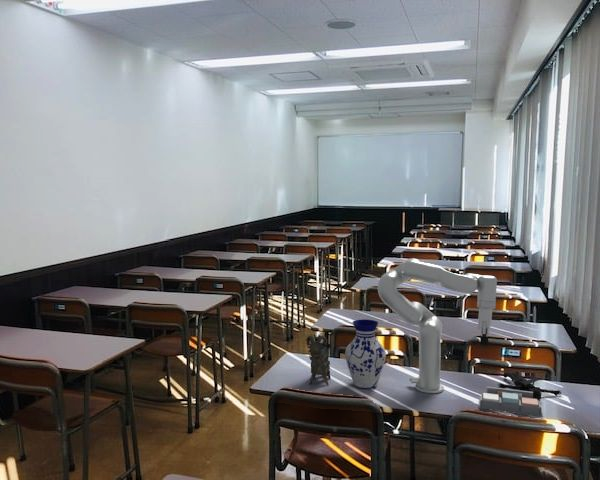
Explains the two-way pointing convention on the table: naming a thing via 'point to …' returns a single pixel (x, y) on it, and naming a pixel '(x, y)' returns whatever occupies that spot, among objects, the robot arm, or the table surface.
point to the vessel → (319, 357)
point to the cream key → (491, 397)
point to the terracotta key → (529, 401)
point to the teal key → (509, 398)
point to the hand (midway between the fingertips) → (484, 344)
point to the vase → (365, 355)
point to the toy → (526, 385)
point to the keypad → (508, 406)
